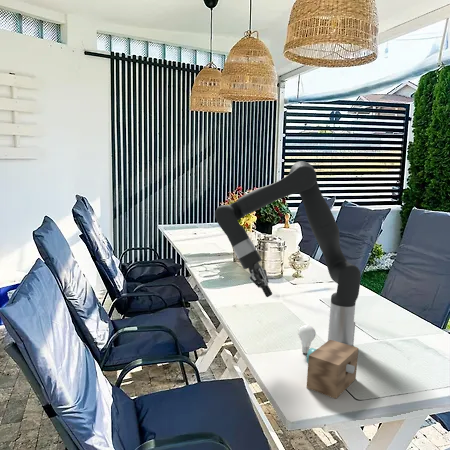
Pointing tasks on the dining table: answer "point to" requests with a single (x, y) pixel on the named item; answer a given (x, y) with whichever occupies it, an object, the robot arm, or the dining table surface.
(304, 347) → the lightbulb
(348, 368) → the knob
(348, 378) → the mount
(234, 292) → the dining table surface
